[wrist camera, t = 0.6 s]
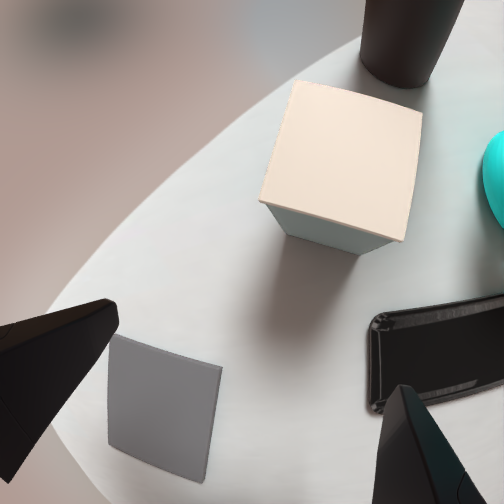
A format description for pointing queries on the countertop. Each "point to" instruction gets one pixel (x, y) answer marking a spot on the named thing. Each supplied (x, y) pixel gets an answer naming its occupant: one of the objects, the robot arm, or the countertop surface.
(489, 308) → the phone
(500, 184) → the donuts
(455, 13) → the bottle
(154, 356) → the mat
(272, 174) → the tea tin
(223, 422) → the countertop surface
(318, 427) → the countertop surface
